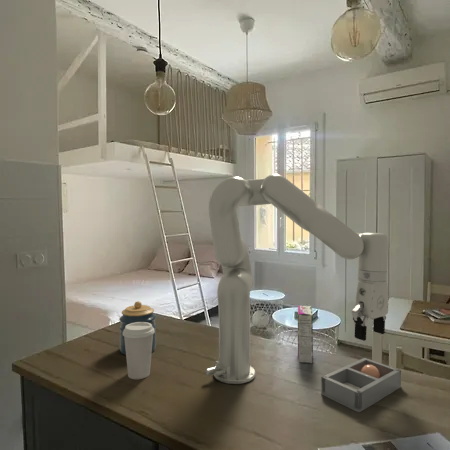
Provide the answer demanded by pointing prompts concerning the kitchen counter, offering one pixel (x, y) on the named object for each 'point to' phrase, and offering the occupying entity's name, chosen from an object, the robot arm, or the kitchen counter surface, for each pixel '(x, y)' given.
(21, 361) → the kitchen counter surface
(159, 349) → the kitchen counter surface
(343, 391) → the divided tray
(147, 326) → the coffee cup
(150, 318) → the canister
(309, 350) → the candy bar box
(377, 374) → the ball
